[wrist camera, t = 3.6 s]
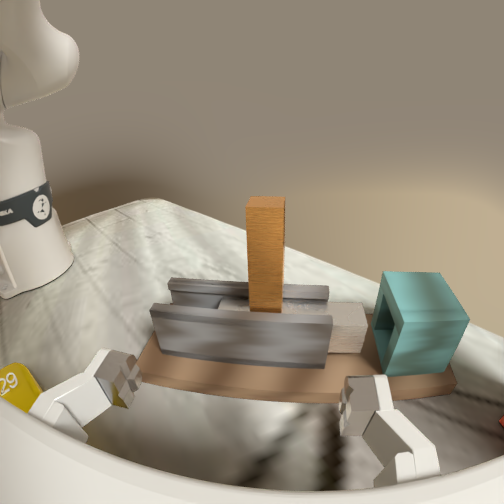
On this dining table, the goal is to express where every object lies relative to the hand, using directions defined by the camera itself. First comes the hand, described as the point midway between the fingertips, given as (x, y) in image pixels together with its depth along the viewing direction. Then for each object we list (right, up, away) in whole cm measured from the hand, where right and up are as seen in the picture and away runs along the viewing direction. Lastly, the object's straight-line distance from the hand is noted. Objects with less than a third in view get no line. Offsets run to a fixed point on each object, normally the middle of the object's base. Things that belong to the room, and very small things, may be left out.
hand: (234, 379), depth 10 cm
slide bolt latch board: (+5, -5, +15) cm, 17 cm away
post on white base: (+4, -3, +14) cm, 15 cm away
